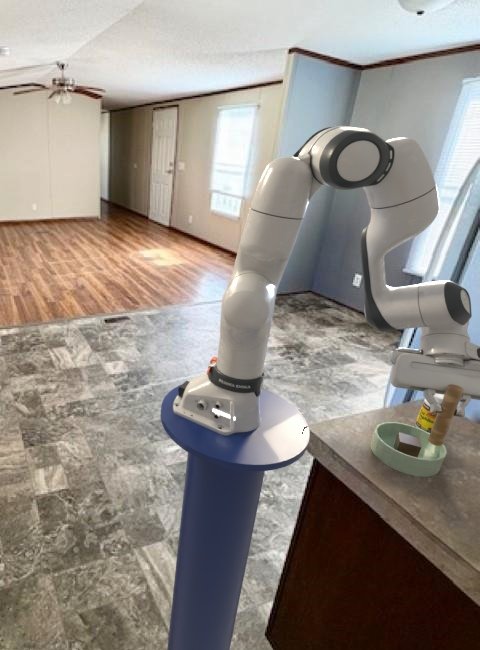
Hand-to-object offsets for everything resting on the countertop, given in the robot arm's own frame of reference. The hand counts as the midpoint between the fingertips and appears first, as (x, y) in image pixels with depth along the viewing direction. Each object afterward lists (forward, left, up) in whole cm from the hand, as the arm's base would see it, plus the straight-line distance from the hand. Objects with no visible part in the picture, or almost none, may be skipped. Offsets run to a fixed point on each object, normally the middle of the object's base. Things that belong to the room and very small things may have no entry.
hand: (447, 414), depth 89 cm
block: (-5, +1, -13) cm, 14 cm away
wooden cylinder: (0, +1, -8) cm, 8 cm away
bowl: (-5, +1, -13) cm, 14 cm away
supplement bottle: (+1, +15, -14) cm, 20 cm away
